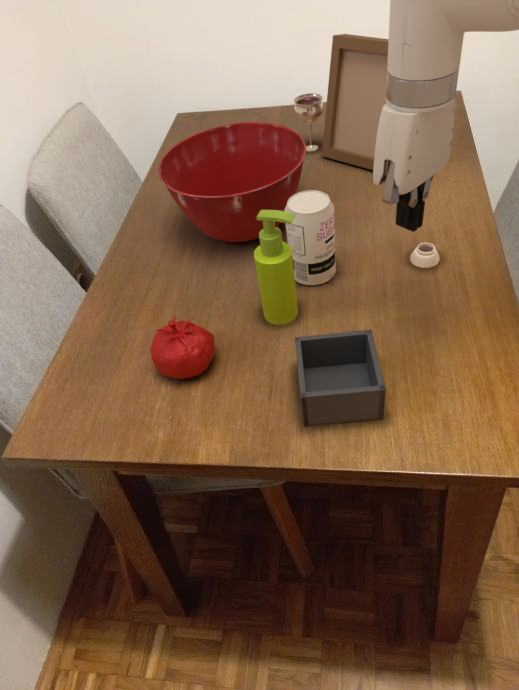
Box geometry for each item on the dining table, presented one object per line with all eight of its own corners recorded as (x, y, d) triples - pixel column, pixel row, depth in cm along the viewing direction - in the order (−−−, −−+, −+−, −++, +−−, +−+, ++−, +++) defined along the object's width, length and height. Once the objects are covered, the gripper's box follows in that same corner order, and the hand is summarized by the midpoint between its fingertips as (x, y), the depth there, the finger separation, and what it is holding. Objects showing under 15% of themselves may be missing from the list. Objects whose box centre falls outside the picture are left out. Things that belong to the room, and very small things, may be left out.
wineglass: (292, 153, 129) (287, 103, 120) (306, 140, 132) (303, 91, 124) (316, 157, 126) (313, 107, 117) (330, 145, 129) (328, 95, 120)
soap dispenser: (298, 329, 87) (287, 227, 72) (259, 323, 89) (241, 222, 75) (308, 306, 90) (299, 204, 76) (270, 300, 93) (255, 200, 78)
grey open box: (371, 329, 75) (294, 337, 76) (385, 389, 67) (300, 397, 68) (370, 361, 80) (298, 368, 81) (383, 421, 72) (303, 428, 73)
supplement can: (294, 259, 100) (287, 188, 89) (338, 260, 98) (336, 188, 87) (287, 287, 94) (279, 215, 84) (333, 289, 92) (331, 215, 82)
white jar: (405, 256, 96) (418, 272, 93) (406, 243, 94) (419, 259, 90) (430, 249, 96) (444, 265, 93) (432, 236, 94) (446, 251, 91)
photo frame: (403, 182, 113) (412, 57, 95) (321, 159, 125) (316, 44, 107) (437, 152, 120) (452, 31, 102) (357, 133, 131) (358, 21, 113)
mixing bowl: (184, 280, 100) (163, 209, 88) (171, 204, 119) (152, 138, 108) (327, 247, 101) (324, 173, 90) (291, 177, 121) (285, 110, 110)
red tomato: (210, 389, 80) (197, 348, 74) (149, 385, 82) (131, 345, 76) (224, 342, 87) (214, 300, 80) (168, 340, 89) (153, 299, 82)
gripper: (432, 57, 63) (419, 193, 76) (350, 103, 57) (351, 242, 70) (490, 68, 59) (465, 209, 72) (407, 119, 53) (396, 263, 66)
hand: (408, 225), depth 71 cm, fingers closed
